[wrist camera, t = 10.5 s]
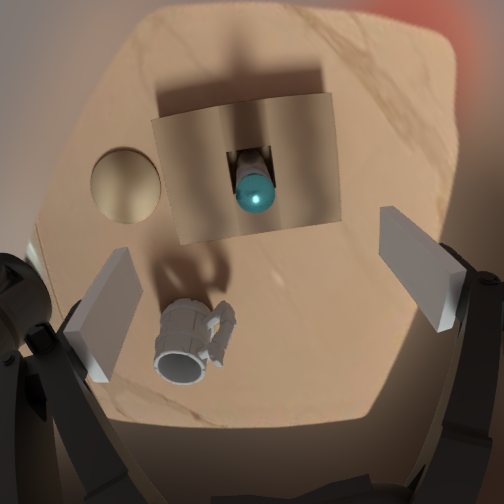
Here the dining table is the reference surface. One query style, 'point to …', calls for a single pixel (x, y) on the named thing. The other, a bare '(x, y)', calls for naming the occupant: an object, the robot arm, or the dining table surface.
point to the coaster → (125, 187)
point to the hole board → (244, 137)
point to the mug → (191, 339)
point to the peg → (253, 183)
